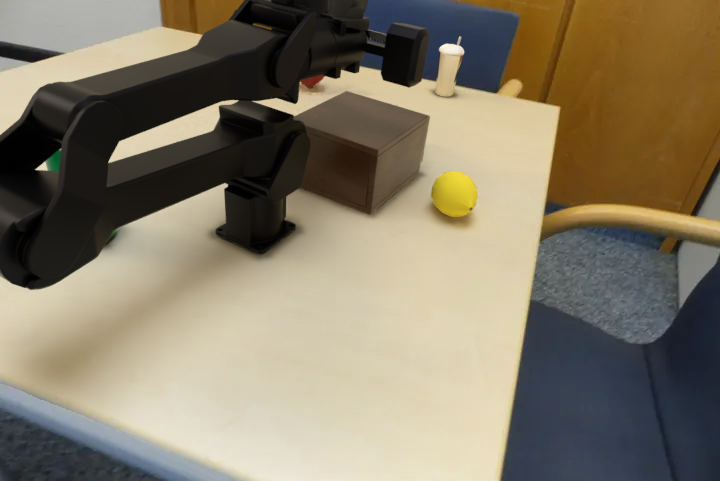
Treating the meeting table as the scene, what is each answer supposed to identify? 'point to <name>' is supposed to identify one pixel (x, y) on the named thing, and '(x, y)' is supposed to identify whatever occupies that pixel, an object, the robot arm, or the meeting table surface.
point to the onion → (312, 81)
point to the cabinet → (361, 150)
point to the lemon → (454, 194)
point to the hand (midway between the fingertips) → (383, 34)
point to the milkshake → (448, 68)
